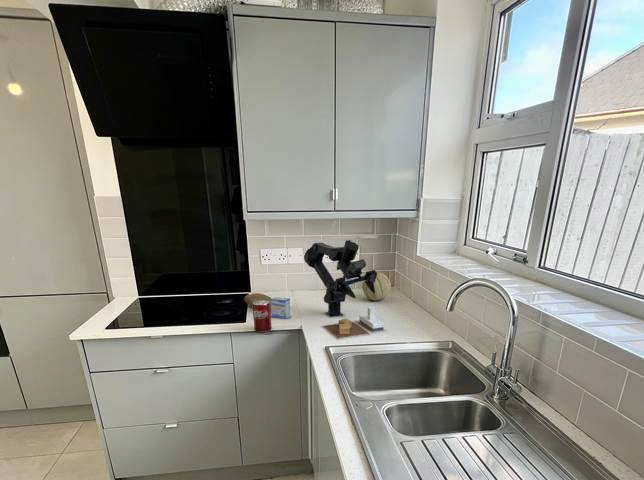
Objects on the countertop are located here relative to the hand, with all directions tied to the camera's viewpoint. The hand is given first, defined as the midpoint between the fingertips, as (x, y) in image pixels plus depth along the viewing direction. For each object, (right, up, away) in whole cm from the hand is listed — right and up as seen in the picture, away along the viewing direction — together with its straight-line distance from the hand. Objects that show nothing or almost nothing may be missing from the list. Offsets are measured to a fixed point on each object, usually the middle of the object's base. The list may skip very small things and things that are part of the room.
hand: (364, 295), depth 165 cm
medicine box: (-37, -7, +24) cm, 45 cm away
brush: (+3, -12, +10) cm, 16 cm away
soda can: (-43, -14, +7) cm, 45 cm away
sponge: (-50, -1, +37) cm, 62 cm away
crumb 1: (-8, -13, +9) cm, 17 cm away
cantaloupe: (+9, +4, +49) cm, 51 cm away
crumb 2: (-8, -15, +2) cm, 17 cm away
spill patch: (-8, -14, +6) cm, 17 cm away
